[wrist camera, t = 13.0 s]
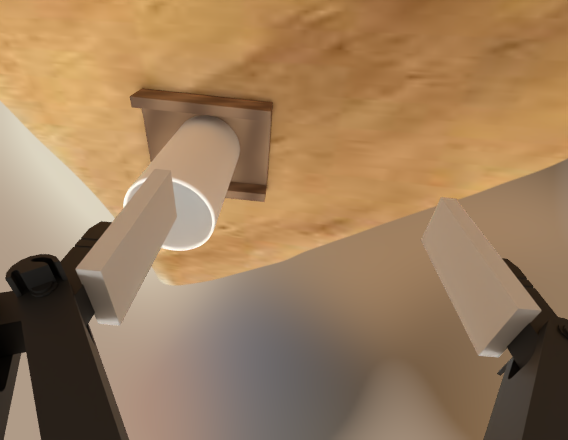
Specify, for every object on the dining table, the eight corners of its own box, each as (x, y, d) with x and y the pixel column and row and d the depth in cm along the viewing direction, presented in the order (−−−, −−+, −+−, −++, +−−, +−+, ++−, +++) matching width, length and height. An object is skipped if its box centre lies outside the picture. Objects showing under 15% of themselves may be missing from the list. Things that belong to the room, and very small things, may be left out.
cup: (166, 122, 40) (104, 186, 27) (228, 109, 38) (194, 169, 25) (191, 178, 44) (148, 256, 31) (247, 168, 43) (226, 244, 30)
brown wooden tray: (272, 102, 39) (270, 111, 36) (266, 188, 46) (264, 201, 43) (142, 88, 38) (129, 96, 35) (156, 178, 46) (147, 190, 43)
